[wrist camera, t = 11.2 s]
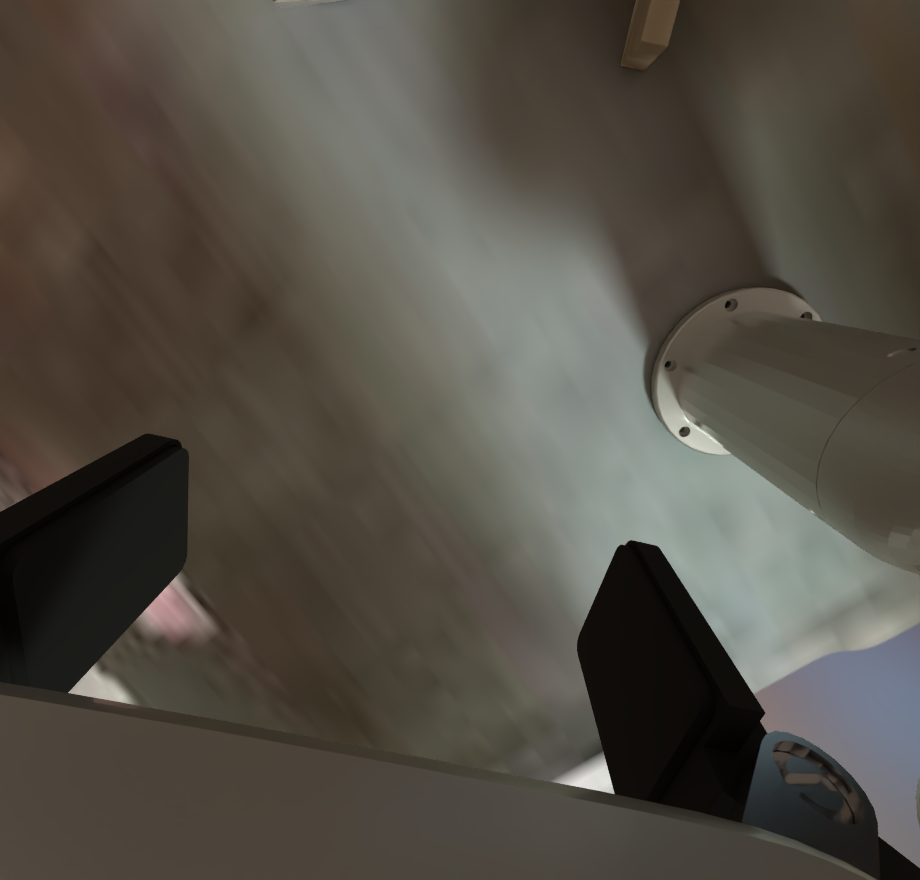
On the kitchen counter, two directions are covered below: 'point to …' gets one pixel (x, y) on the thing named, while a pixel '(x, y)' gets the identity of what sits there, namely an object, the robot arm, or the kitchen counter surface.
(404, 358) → the kitchen counter surface
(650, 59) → the wooden frame
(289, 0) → the packaged product
